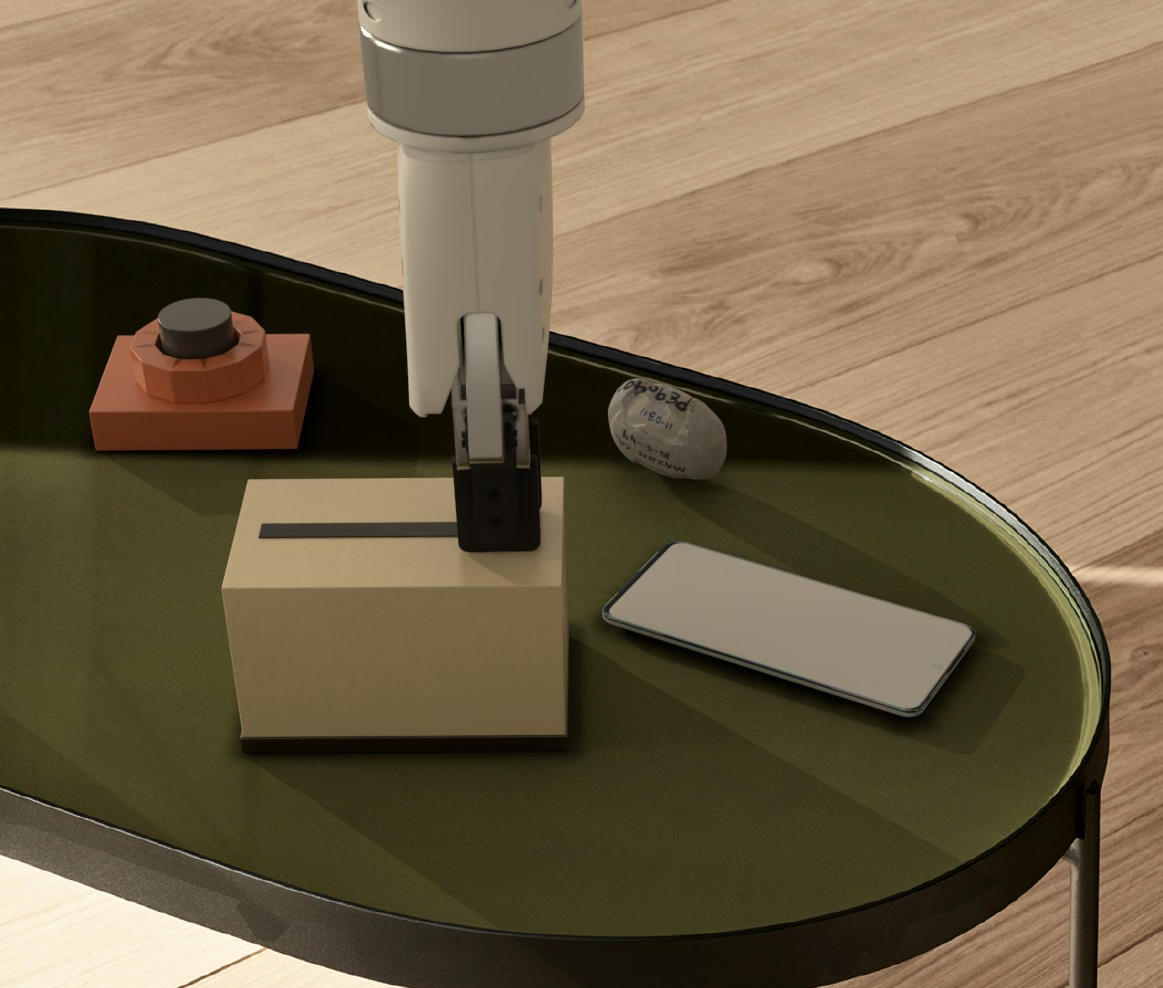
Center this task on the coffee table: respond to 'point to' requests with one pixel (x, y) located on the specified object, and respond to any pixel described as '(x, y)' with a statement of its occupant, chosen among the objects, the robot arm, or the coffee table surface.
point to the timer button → (196, 329)
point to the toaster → (393, 622)
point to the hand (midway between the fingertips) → (501, 525)
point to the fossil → (667, 430)
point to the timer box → (204, 393)
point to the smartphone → (792, 627)
